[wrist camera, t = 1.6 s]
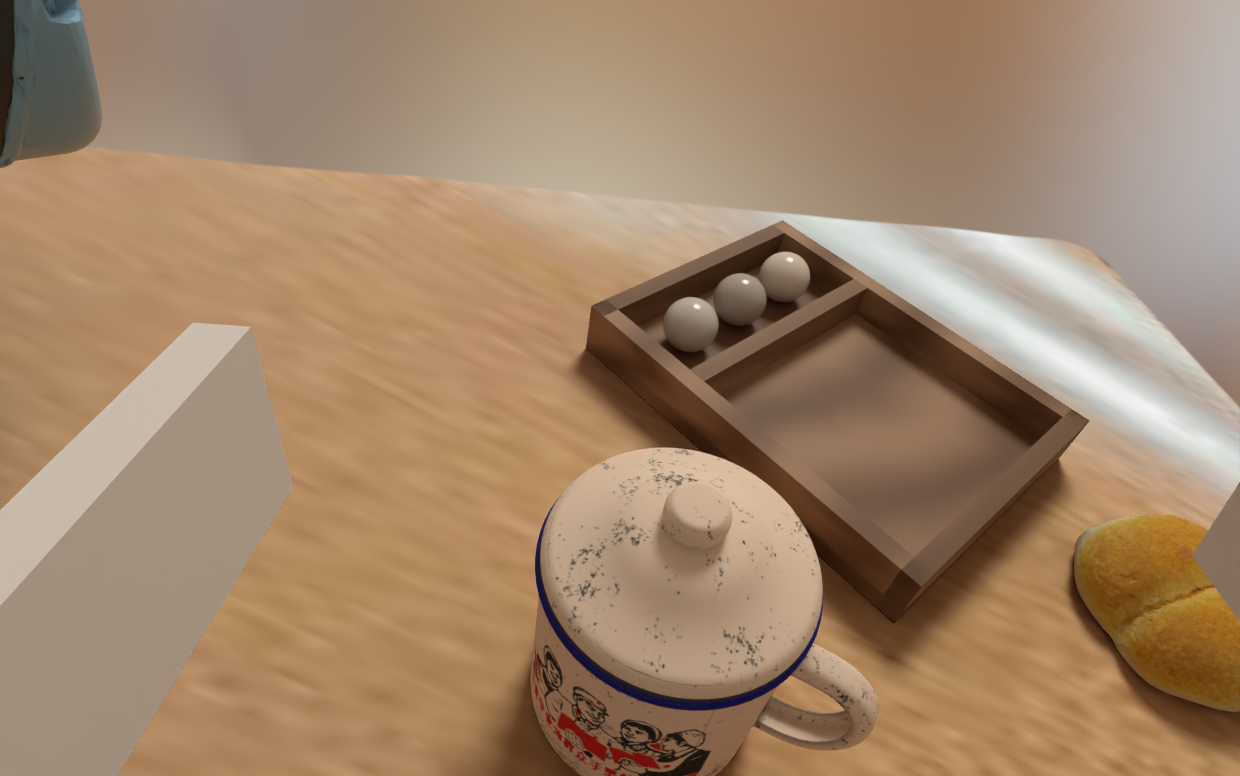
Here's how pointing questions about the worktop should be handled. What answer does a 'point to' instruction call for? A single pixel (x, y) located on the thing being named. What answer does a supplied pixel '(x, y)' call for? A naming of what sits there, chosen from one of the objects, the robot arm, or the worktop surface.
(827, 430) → the parts tray
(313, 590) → the worktop surface
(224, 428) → the robot arm
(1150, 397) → the worktop surface
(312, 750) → the worktop surface
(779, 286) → the pebble
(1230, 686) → the bread roll
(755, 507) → the teacup with lid
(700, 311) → the pebble
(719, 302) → the pebble
